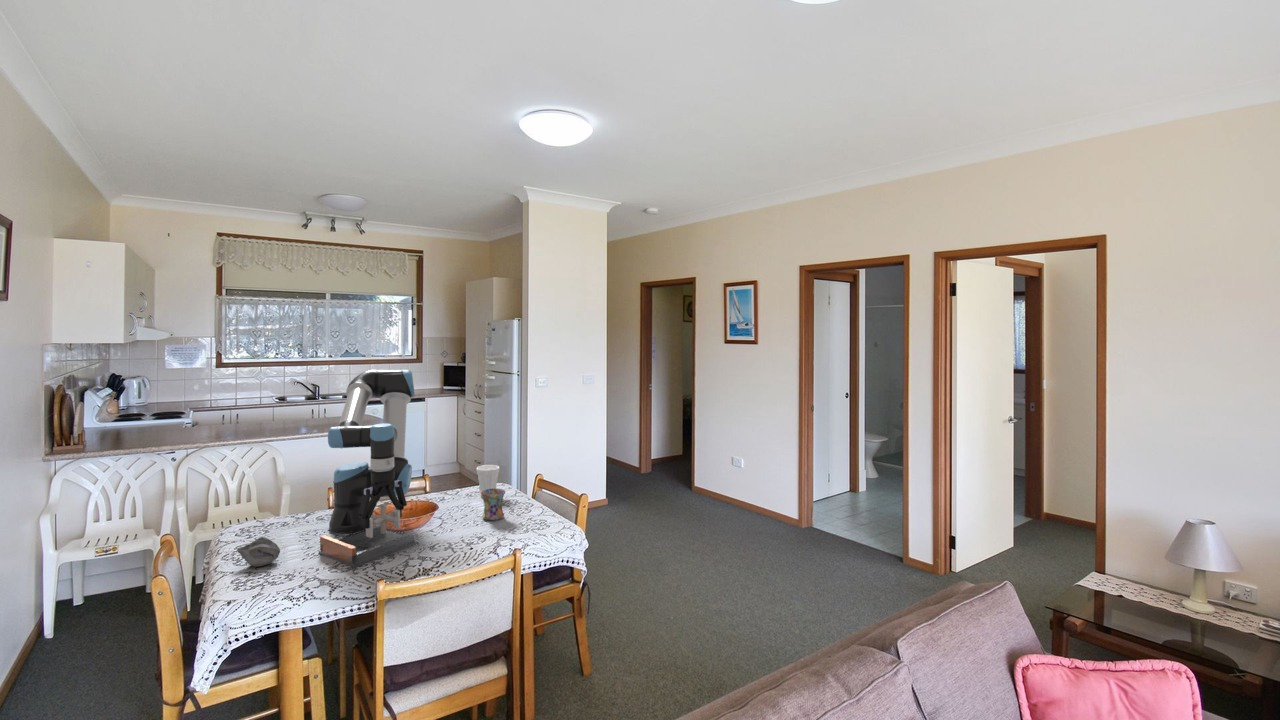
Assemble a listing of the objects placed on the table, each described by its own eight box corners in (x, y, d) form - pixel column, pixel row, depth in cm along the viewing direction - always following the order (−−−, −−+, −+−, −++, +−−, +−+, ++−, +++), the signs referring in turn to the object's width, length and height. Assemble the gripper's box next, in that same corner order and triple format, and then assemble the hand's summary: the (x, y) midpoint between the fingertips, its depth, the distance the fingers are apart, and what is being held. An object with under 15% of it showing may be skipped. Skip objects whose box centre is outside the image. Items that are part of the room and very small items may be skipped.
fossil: (239, 573, 179) (238, 548, 179) (237, 563, 186) (236, 538, 186) (281, 564, 186) (281, 540, 186) (278, 555, 193) (277, 531, 193)
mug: (509, 518, 232) (509, 492, 231) (487, 523, 226) (487, 496, 225) (495, 510, 241) (495, 485, 240) (474, 515, 235) (474, 489, 235)
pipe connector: (387, 539, 198) (387, 510, 197) (361, 536, 200) (360, 508, 199) (404, 529, 208) (404, 501, 207) (379, 526, 210) (379, 499, 209)
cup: (472, 499, 256) (472, 469, 255) (482, 492, 266) (482, 464, 265) (494, 500, 254) (494, 471, 253) (503, 494, 264) (503, 465, 263)
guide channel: (383, 531, 215) (383, 515, 215) (419, 543, 205) (418, 527, 204) (318, 553, 195) (318, 535, 195) (354, 568, 185) (353, 549, 184)
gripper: (358, 478, 191) (359, 544, 192) (417, 464, 210) (417, 524, 212) (345, 474, 195) (346, 539, 196) (403, 461, 214) (404, 520, 216)
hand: (383, 532), depth 204 cm, fingers closed on pipe connector, 10 cm apart
